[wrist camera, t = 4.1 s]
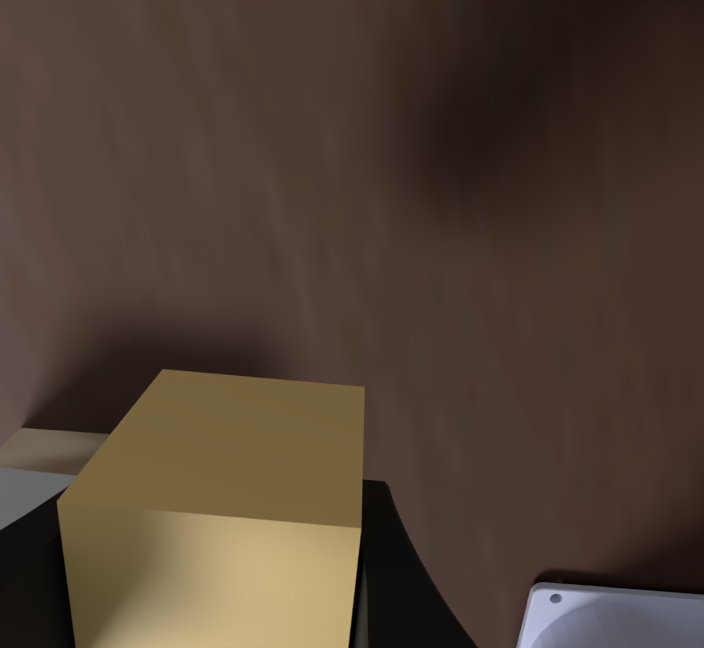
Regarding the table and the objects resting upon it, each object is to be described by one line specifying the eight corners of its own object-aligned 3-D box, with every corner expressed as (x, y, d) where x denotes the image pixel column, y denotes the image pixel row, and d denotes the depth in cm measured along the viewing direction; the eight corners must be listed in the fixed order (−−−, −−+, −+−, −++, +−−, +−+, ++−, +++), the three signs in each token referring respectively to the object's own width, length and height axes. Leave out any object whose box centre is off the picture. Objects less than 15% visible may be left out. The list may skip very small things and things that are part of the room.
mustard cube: (364, 387, 12) (360, 527, 8) (348, 546, 14) (338, 732, 10) (162, 369, 12) (56, 501, 8) (169, 530, 14) (83, 710, 10)
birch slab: (197, 435, 23) (172, 482, 20) (203, 569, 25) (182, 627, 22) (25, 423, 23) (-23, 468, 20) (48, 558, 25) (8, 614, 23)
